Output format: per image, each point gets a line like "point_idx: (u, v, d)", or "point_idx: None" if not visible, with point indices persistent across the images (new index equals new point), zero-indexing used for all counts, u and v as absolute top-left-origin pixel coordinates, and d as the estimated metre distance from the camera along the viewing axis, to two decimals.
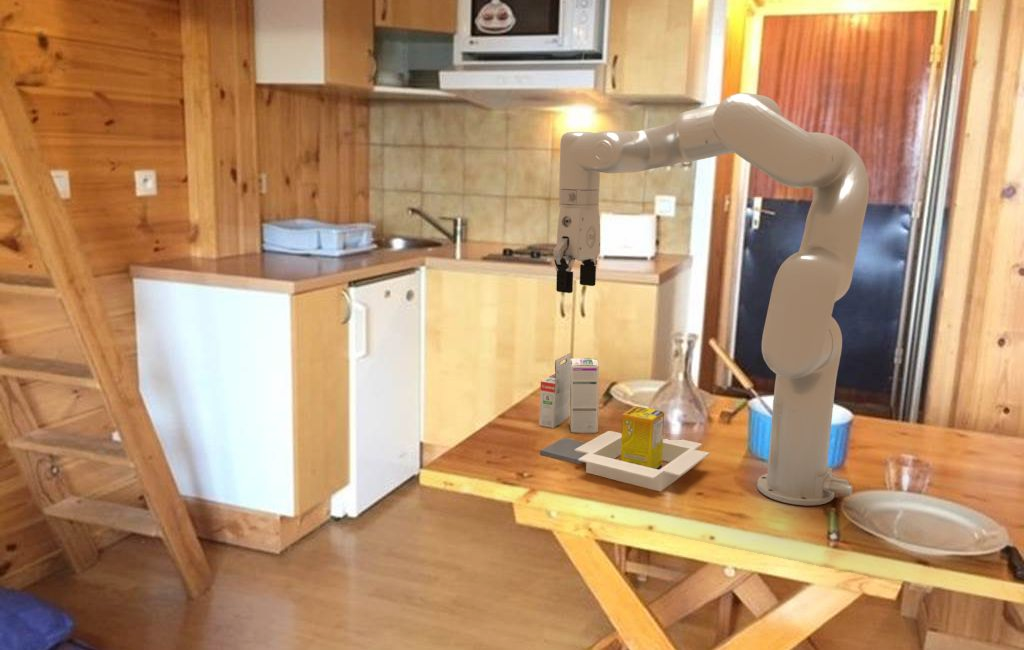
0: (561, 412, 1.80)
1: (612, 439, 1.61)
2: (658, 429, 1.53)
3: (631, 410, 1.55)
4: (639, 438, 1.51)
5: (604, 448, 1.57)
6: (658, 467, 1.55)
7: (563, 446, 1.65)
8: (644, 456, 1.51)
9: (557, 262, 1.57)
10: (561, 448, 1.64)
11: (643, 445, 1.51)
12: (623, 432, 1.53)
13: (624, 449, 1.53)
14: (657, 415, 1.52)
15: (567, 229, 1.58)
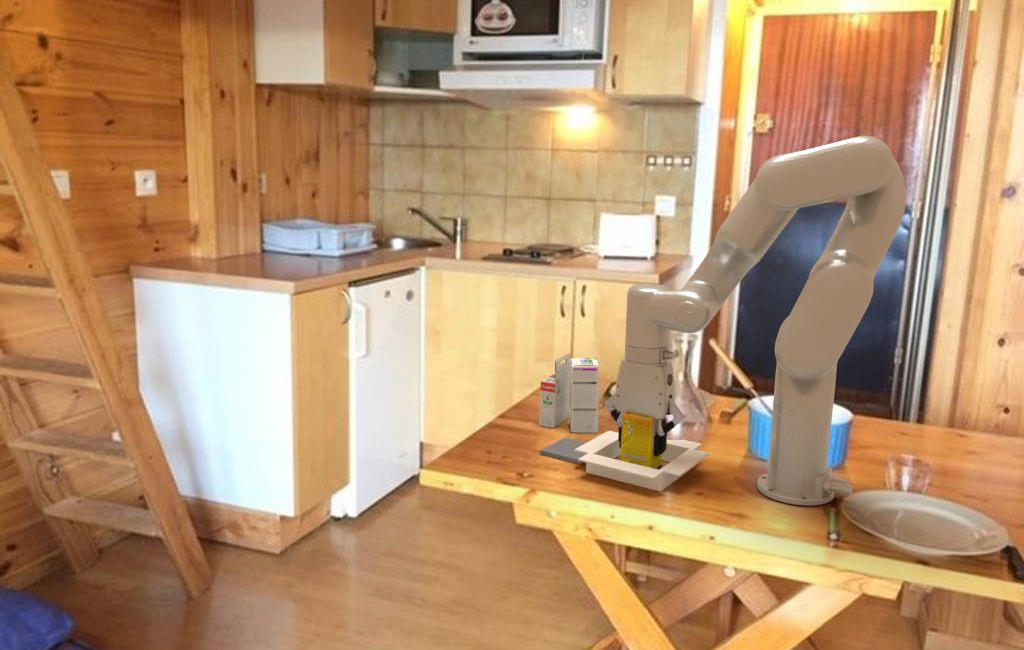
0: (561, 412, 1.80)
1: (612, 439, 1.61)
2: None
3: None
4: (639, 438, 1.51)
5: (604, 448, 1.57)
6: (658, 467, 1.55)
7: (563, 446, 1.65)
8: (644, 455, 1.51)
9: None
10: (561, 448, 1.64)
11: (642, 444, 1.51)
12: (623, 432, 1.53)
13: (624, 449, 1.53)
14: None
15: (671, 387, 1.50)
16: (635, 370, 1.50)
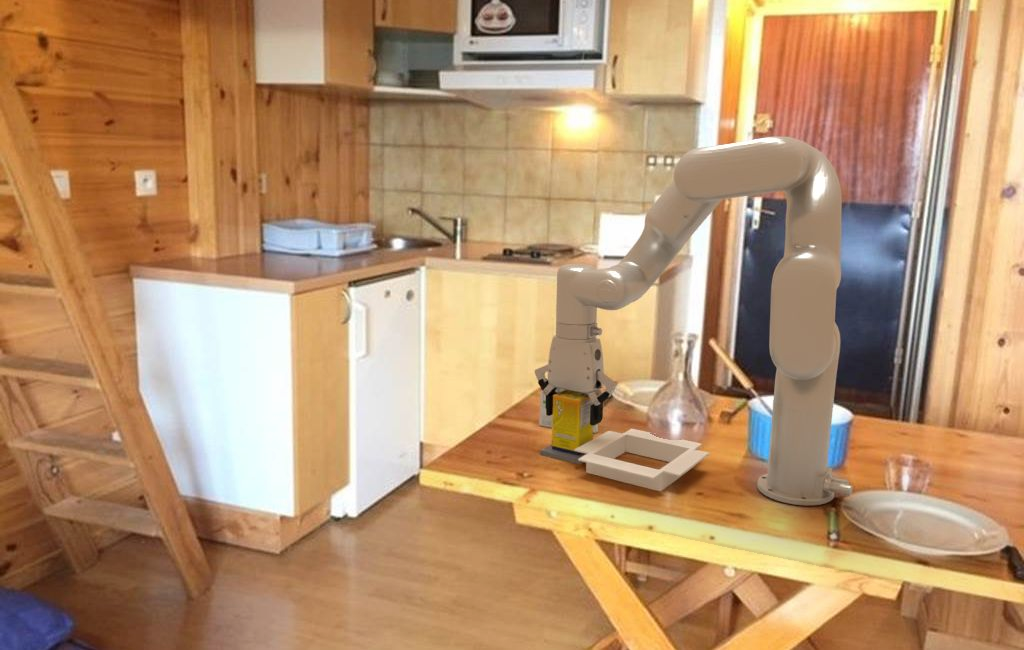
0: None
1: (612, 439, 1.61)
2: (587, 409, 1.60)
3: (562, 392, 1.63)
4: (568, 418, 1.59)
5: (604, 448, 1.57)
6: None
7: None
8: (573, 435, 1.59)
9: (609, 396, 1.57)
10: None
11: (571, 424, 1.59)
12: (554, 412, 1.61)
13: (555, 428, 1.61)
14: (586, 396, 1.60)
15: (599, 362, 1.57)
16: (565, 345, 1.58)
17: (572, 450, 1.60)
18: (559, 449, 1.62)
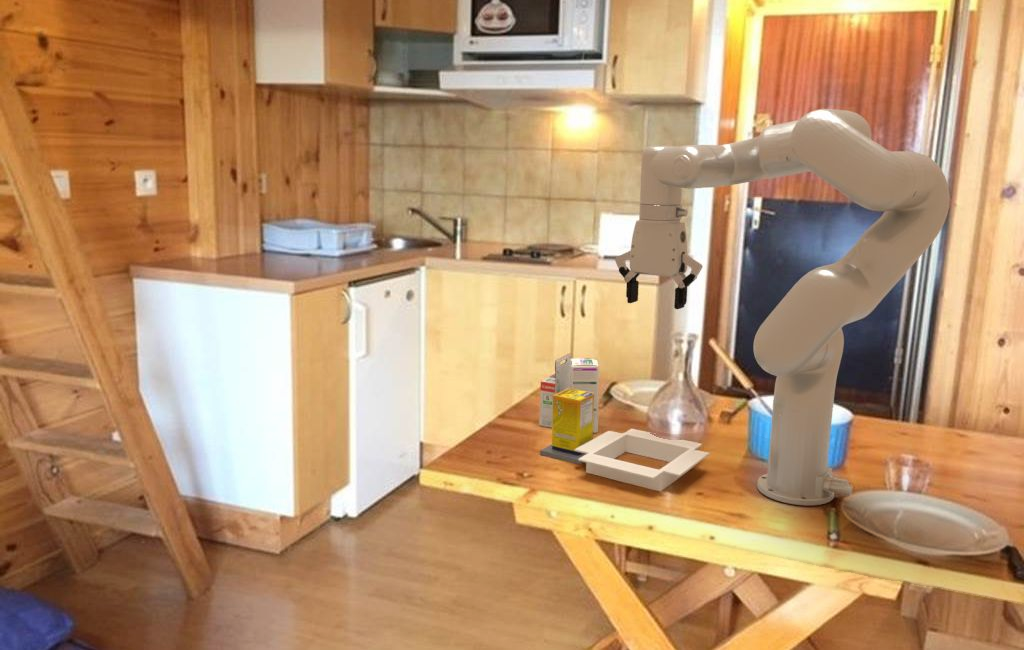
0: None
1: (612, 439, 1.61)
2: (587, 409, 1.60)
3: (562, 392, 1.63)
4: (568, 418, 1.59)
5: (604, 448, 1.57)
6: None
7: None
8: (573, 435, 1.59)
9: (694, 278, 1.56)
10: None
11: (571, 424, 1.59)
12: (554, 412, 1.61)
13: (555, 428, 1.61)
14: (586, 396, 1.60)
15: (684, 244, 1.56)
16: (649, 228, 1.57)
17: (572, 450, 1.60)
18: (559, 449, 1.62)
